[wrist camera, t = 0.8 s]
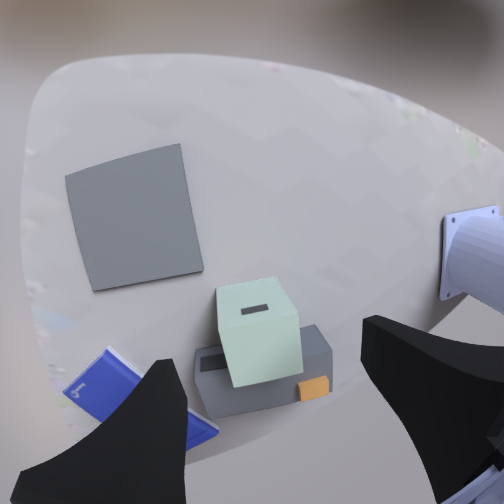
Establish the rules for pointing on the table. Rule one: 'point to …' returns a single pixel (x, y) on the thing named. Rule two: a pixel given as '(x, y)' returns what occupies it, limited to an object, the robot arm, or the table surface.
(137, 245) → the mat
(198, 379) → the power strip
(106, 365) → the blue book
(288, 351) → the block
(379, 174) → the table surface
